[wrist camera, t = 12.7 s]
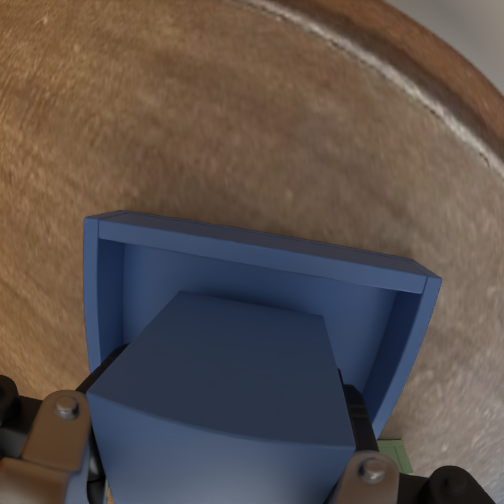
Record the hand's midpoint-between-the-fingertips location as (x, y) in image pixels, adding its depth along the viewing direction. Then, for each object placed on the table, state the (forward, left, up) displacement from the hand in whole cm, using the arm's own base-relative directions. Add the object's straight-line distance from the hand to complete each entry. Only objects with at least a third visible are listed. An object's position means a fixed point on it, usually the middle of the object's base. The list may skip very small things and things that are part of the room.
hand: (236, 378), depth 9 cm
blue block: (0, 0, -1) cm, 1 cm away
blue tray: (0, 0, -3) cm, 3 cm away
